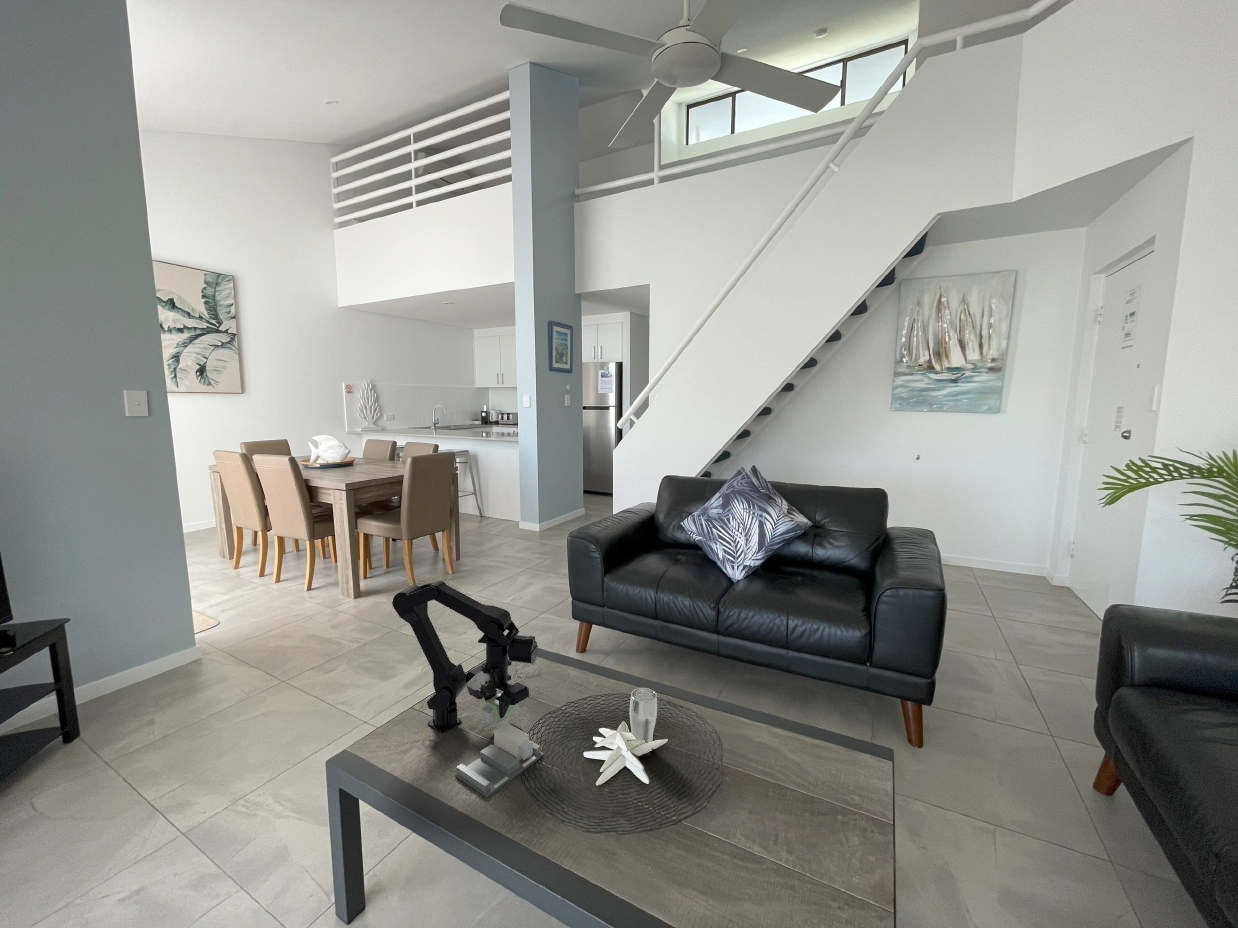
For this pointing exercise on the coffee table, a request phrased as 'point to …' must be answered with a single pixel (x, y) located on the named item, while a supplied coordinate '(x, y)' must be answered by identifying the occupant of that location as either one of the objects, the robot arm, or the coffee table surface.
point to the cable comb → (494, 769)
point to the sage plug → (496, 711)
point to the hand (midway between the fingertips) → (496, 714)
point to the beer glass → (643, 713)
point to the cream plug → (513, 741)
